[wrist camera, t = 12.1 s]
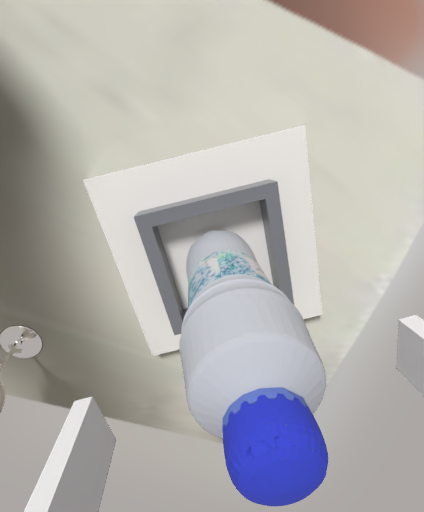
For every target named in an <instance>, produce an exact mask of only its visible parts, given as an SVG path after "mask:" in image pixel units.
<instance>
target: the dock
mask: <svg viewBox="0 0 424 512" xmlns="http://www.w3.org/2000/svg"><path fill="white" fill-rule="evenodd" d="M83 181H84V184H85V186H86V189H87V191H88V194H89V197H90V199H91V202H92V204H93V207H94V209H95V212H96V214H97V217H98V219H99V222H100V224H101V227H102V229H103V232H104V234H105V237H106V240H107V242H108V245H109V247H110V250H111V252H112V255H113V257H114V260H115V262H116V265H117V267H118V270H119V272H120V275H121V277H122V280H123V283H124V285H125V288H126V290H127V293H128V295H129V298H130V300H131V303H132V305H133V308H134V310H135V313H136V315H137V318H138V320H139V323H140V326H141V328H142V331H143V333H144V336H145V338H146V341H147V343H148V346H149V348H150V351H151V353H152V356H155V355H159V354H163V353H167V352H172V351H176V350H179V344H180V337H181V329H182V323H183V319H184V316H185V314H186V312H187V310H188V279H187V272H186V262H187V256H188V252H189V250H190V247H191V245H192V244H193V243H195V242H196V241H197V240H198V239H199V238H200V237H202V236H203V235H204V234H205V233H206V232H209V231H230V232H234V233H236V234H237V235H239V236H240V237H241V238H242V239H244V241H245V242H246V243H247V244H248V245H249V247H250V248H251V250H252V252H253V253H254V255H255V258H256V260H257V262H258V264H259V266H260V267H261V269H262V270H263V272H264V273H265V275H266V276H267V278H268V279H269V281H270V283H271V284H272V285H273V286H275V287H277V288H278V289H279V290H281V291H282V292H283V293H284V294H285V295H286V296H287V298H288V299H289V300H290V302H291V303H292V304H293V305H294V306H295V307H296V308H297V309H298V310H299V312H300V314H301V315H302V317H303V319H307V318H311V317H315V316H319V315H322V305H321V294H320V283H319V272H318V262H317V251H316V240H315V229H314V218H313V207H312V197H311V186H310V175H309V164H308V153H307V142H306V132H305V125H301V126H297V127H293V128H289V129H285V130H281V131H277V132H273V133H269V134H265V135H261V136H257V137H253V138H249V139H245V140H241V141H237V142H233V143H229V144H225V145H221V146H217V147H213V148H209V149H205V150H201V151H197V152H193V153H189V154H185V155H181V156H177V157H173V158H169V159H165V160H161V161H157V162H153V163H148V164H144V165H140V166H136V167H132V168H128V169H124V170H120V171H116V172H112V173H108V174H104V175H100V176H96V177H92V178H88V179H84V180H83Z"/></svg>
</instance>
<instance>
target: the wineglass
mask: <svg viewBox="0 0 424 512" xmlns="http://www.w3.org/2000/svg"><path fill="white" fill-rule="evenodd" d="M0 344H1V346H2V348H3V349H4V350H5V351H6V352H7V353H8V354H7V355H6V356H5V357H4V358H3V359H2V360H1V361H0V372H1V369H2V368H3V366H4V364H5V363H6V362H7V360H8V359H9V358H10V357H11V356H14V357H18V358H30V357H33V356H35V355H37V354H38V353H39V352H40V351H41V348H42V340H41V338H40V336H39V335H38V334H37V333H36V332H35V331H34V330H32V329H30V328H28V327H25V326H19V325H17V326H10V327H8V328H6V329H5V330H3V332H2V333H1V335H0ZM4 402H5V390H4V387H3V385H2V384H1V382H0V412H1V410H2V408H3V406H4Z"/></svg>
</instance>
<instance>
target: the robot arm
mask: <svg viewBox="0 0 424 512" xmlns="http://www.w3.org/2000/svg"><path fill="white" fill-rule="evenodd" d="M396 369H397V370H398V371H399V372H400V373H401V374H402V375H403V376H404V377H405V378H406V379H407V380H408V381H409V382H410V383H411V384H412V385H413V386H414V387H415V388H416V389H417V390H418V391H419V392H420V393H421V394H422V395H423V396H424V320H423V319H421V318H419V317H418V316H417V315H415V316H411V317H407V318H403V319H399V320H398V341H397V365H396ZM115 442H116V438H115V436H114V435H113V433H112V431H111V429H110V427H109V425H108V424H107V422H106V420H105V418H104V416H103V415H102V413H101V411H100V409H99V407H98V406H97V404H96V402H95V400H94V398H93V397H88V398H84V399H80V400H76V401H74V403H73V405H72V407H71V410H70V412H69V414H68V416H67V418H66V421H65V423H64V425H63V427H62V430H61V432H60V434H59V436H58V438H57V440H56V443H55V445H54V447H53V449H52V451H51V454H50V456H49V458H48V460H47V462H46V464H45V467H44V469H43V471H42V473H41V475H40V478H39V480H38V482H37V484H36V487H35V488H34V491H33V493H32V495H31V497H30V499H29V502H28V504H27V506H26V508H25V510H24V512H98V511H99V507H100V503H101V499H102V495H103V491H104V487H105V483H106V479H107V475H108V471H109V467H110V462H111V458H112V454H113V450H114V446H115Z"/></svg>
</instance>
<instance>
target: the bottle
mask: <svg viewBox="0 0 424 512" xmlns="http://www.w3.org/2000/svg"><path fill="white" fill-rule="evenodd" d="M186 272H187V279H188V310H187V312H186V314H185V316H184V319H183V323H182V329H181V337H180V344H179V352H180V356H181V362H182V367H183V373H184V381H185V388H186V395H187V402H188V405H189V409H190V411H191V413H192V415H193V417H194V418H195V420H196V421H197V423H198V424H199V425H200V426H201V427H202V428H203V429H204V430H206V431H208V432H209V433H211V434H212V435H214V436H217V437H219V438H221V439H223V445H224V453H225V459H226V466H227V469H228V472H229V475H230V478H231V480H232V482H233V484H234V485H235V487H236V489H237V490H238V491H239V492H240V493H241V494H242V495H243V496H244V497H245V498H247V499H248V500H250V501H252V502H255V503H257V504H261V505H267V506H283V505H288V504H292V503H295V502H298V501H300V500H302V499H304V498H305V497H307V496H308V495H310V494H311V493H312V492H313V491H314V490H315V489H317V488H318V486H319V485H320V484H321V483H322V482H323V480H324V478H325V475H326V470H327V464H328V453H327V449H326V444H325V441H324V438H323V436H322V433H321V431H320V429H319V426H318V424H317V422H316V420H315V418H314V416H313V413H314V412H315V411H316V410H317V408H318V406H319V405H320V403H321V401H322V399H323V395H324V391H325V387H326V375H325V369H324V366H323V363H322V360H321V358H320V356H319V354H318V352H317V350H316V348H315V345H314V343H313V341H312V339H311V337H310V334H309V332H308V330H307V327H306V325H305V322H304V319H303V317H302V315H301V314H300V312H299V310H298V309H297V308H296V307H295V306H294V305H293V304H292V303H291V302H290V300H289V299H288V298H287V296H286V295H285V294H284V293H283V292H282V291H281V290H279V289H278V288H277V287H275V286H273V285H272V284H271V283H270V281H269V279H268V278H267V276H266V275H265V273H264V272H263V270H262V269H261V267H260V266H259V264H258V262H257V260H256V258H255V255H254V253H253V252H252V250H251V248H250V247H249V245H248V244H247V243H246V242H245V241H244V239H242V238H241V237H240V236H239V235H237V234H236V233H234V232H230V231H209V232H206V233H205V234H204V235H203V236H202V237H200V238H199V239H198V240H197V241H196V242H195V243H193V244H192V245H191V247H190V250H189V252H188V256H187V262H186Z"/></svg>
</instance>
